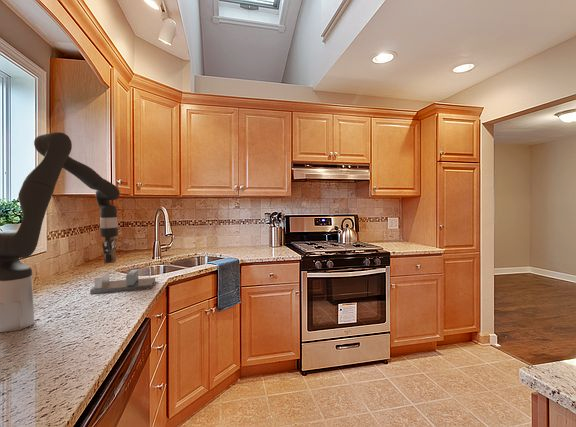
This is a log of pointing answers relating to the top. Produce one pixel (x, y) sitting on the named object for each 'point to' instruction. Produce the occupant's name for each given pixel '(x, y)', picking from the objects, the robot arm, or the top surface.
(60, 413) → the top surface
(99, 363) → the top surface
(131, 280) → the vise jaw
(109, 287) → the plate
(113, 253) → the walnut block
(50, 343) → the top surface
